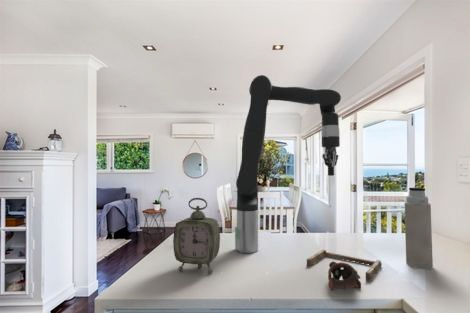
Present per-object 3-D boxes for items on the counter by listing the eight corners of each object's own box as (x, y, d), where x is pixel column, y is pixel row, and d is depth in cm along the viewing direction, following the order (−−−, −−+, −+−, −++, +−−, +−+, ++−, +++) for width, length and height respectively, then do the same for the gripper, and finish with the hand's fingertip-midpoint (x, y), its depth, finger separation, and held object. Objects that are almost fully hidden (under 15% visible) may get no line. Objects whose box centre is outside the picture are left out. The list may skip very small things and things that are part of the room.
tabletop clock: (172, 273, 92) (173, 198, 93) (183, 263, 101) (184, 196, 102) (213, 276, 89) (213, 199, 90) (221, 266, 97) (221, 196, 99)
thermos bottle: (403, 260, 103) (401, 186, 105) (428, 262, 101) (425, 187, 102) (409, 267, 96) (407, 188, 97) (436, 270, 93) (433, 188, 94)
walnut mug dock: (324, 255, 110) (324, 248, 110) (381, 266, 97) (381, 259, 97) (306, 266, 98) (306, 259, 98) (369, 281, 84) (369, 273, 85)
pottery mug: (371, 293, 78) (365, 272, 75) (344, 311, 76) (337, 290, 73) (343, 268, 89) (337, 249, 86) (319, 283, 87) (312, 264, 84)
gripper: (327, 138, 128) (328, 175, 127) (316, 135, 118) (316, 175, 117) (344, 137, 123) (344, 175, 122) (333, 134, 113) (334, 176, 112)
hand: (331, 175), depth 120 cm, fingers closed
